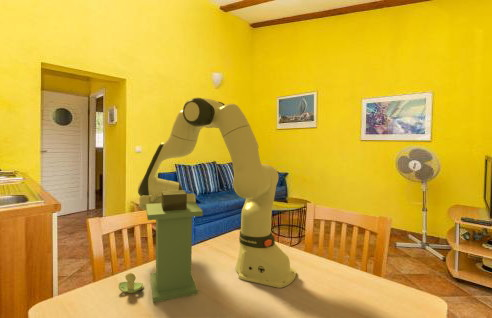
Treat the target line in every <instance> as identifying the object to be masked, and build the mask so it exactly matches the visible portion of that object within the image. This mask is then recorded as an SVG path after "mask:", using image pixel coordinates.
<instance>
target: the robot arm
mask: <svg viewBox="0 0 492 318" xmlns="http://www.w3.org/2000/svg"><path fill="white" fill-rule="evenodd" d="M203 128H206V129H211V128H216V129H219V132H220V133H221V136H222V138H223V141H224V144H225V146H226V149H227V152H228V153H229V156H230V159H231V163H232V170H233V180H232V188H233V191H234V192H235V193H236V196H239V197H240V198H243V199H245V201H244V204H243V207H241V208H242V209H241V213H240V214H241V217H240V231H239V238H238V239H239V240H238V241H239V252H238V256H237V257H238V258H237V261H236V263H235V264H236V265H235V268H234V269H235V271H236V272H237V274H238V279H240V280H242V281H248V282H252V283H256V284H261V285H265V286H269V287H274V288H277V289H280V288H281V289H282V288H284V287H287V286H288V285H290V284H291V283H292V282H294V280H295V279H296V278H297V270H296V269H295V268H293V267H291V263H290V257H289V256H288V255H287V254H286V252H284V251H283V250H282V248H280V247H279V245H277V244H276V243H275V242H276V240H277V239H278V238H277V237H278V235H275V236H274V235H273V233H272V230H271V229H272V213H273V212H272V211H273V206H274V201H275V195H276V189H277V185H278V181H279V173H278V171H277V169H276V168H275V167H274V166H272V165H269V164H267V163H262V162H261V157H260V153H259V143H258V141H257V138H256V136H255V134H254V132H253V130H252V127H251V125H250V123H249V121H248V119H247V117H246V115H245V113H244V112H243V111H242V109H241V108H240V107H239V106H238V105H237V104H235V103H227V104H225V103H224V102H222V101H216V100H213V99H211V98H202V97H194V98H190V99H188V100H187V101H186V102H185V103H184V105H183V108H182V110H180V111H179V112H178V113H177V116H176V117H175V120H174V123H173V125H172V128H171V132H170V135H169V137H168V138H167V140H166V141H165V142H161V143H160V144H159V145H158V147H157V148H156V150H155V152H154V154H153V157H152V159H151V161H150V163H149V165H148V166H147V170H146V171H145V174H144V176H143V177H142V179H141V180H140V181H139V184H138V188H137V194H138V195H139V200H138V201H139V203H138V208H140V209H141V210H143V211H146V204H158V203H162V191H174V190H184V189H183V185H181V183H180V182H178V181H173V180H168V179H164V178H159V177H157V176H156V174H157V172H158V171H159V168H160V166H161V164H162V162H163V161H166V160H169V159H177V158H183V157H186V156H189V155H191V154H192V153H193V151H194V150H195V148H196V144H197V142H198V139H199V135H200V132H201V130H202V129H203ZM186 194H187V202H192V201H195V202H196V194H195V193H186ZM196 203H197V202H196Z"/></svg>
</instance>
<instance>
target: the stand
mask: <svg viewBox="0 0 492 318" xmlns="http://www.w3.org/2000/svg"><path fill="white" fill-rule="evenodd" d="M145 211H146V216H147V217H146V218H147V219H146V220H147V221H155V272H151V273H150V282H151V283H150V284H151V293H152V303H158V302H164V301H169V300H174V299H179V298H180V299H181V298H184V297H186V298H187V297H190V296H195V295H198V287H197V285H196V283H195V280H194V277H193V275H192V253H193V252H192V249H193V248H192V245H193V243H192V241H193V235H192V232H193V218H194V217H203V215H204V214H203V213H204V211H203V209H202V208H201V207H200V206H199V205H198V204H197V202H195V201H192V202H187V210H174V211H163V209H162V203H158V204H146V210H145Z"/></svg>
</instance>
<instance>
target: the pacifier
mask: <svg viewBox="0 0 492 318" xmlns="http://www.w3.org/2000/svg"><path fill="white" fill-rule="evenodd" d="M136 279H137V278H136V276H135V274H134V273H132V272H128V273H126V275H125V280H126V281H122V282H120V283H118V289H119V291H121V292H124V293H127V294H134V293H137V292H138V291H141V290H143V289H144V287H145V286H144V284H143V282H135V280H136Z"/></svg>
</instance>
